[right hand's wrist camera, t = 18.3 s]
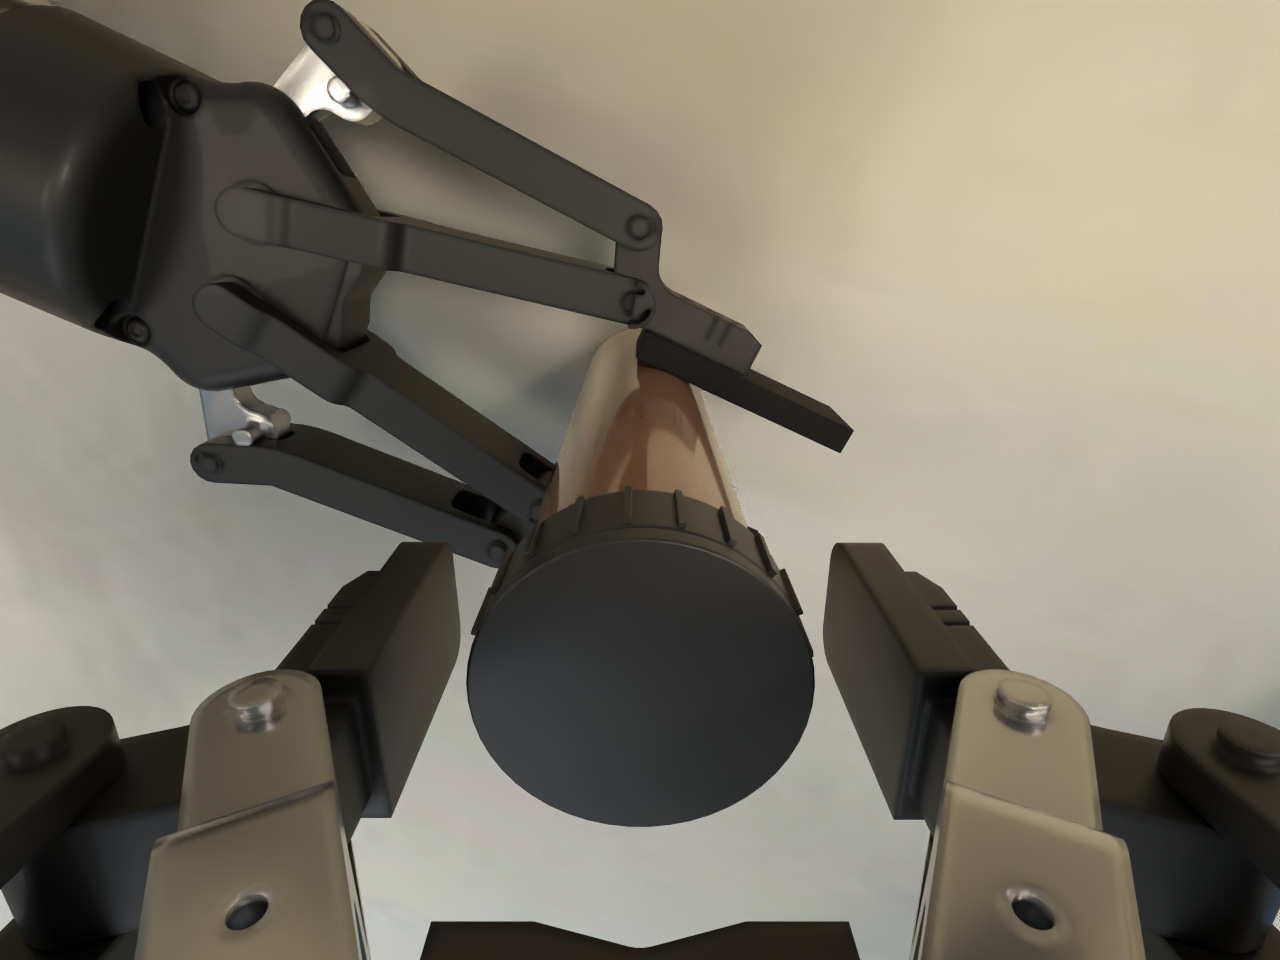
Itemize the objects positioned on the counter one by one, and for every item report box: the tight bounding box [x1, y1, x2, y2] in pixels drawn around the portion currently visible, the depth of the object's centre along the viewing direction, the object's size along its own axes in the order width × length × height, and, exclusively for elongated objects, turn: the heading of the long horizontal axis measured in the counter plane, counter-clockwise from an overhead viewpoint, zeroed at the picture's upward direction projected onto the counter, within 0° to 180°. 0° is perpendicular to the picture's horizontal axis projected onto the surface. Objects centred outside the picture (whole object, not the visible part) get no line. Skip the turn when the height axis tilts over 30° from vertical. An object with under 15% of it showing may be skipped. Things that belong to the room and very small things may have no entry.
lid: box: [466, 486, 815, 827], centre depth 10 cm, size 5×5×2 cm
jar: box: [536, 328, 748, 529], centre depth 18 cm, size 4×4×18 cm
